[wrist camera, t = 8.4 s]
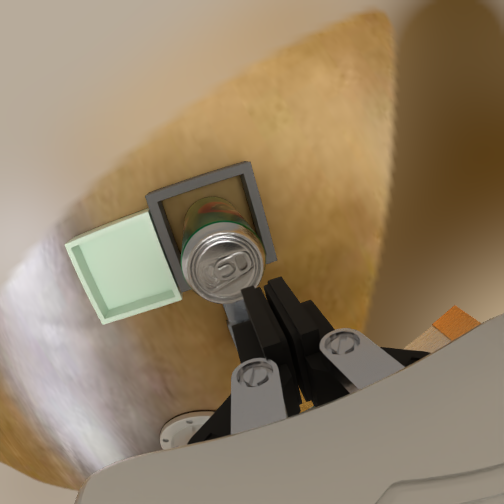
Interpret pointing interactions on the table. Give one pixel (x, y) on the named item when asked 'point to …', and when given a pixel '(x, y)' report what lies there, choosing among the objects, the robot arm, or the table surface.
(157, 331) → the table surface
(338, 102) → the table surface
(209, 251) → the soda can
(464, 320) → the bar
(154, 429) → the table surface
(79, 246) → the tray
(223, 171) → the collar
